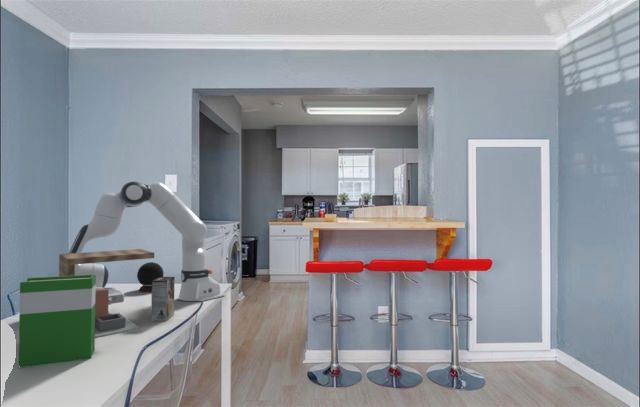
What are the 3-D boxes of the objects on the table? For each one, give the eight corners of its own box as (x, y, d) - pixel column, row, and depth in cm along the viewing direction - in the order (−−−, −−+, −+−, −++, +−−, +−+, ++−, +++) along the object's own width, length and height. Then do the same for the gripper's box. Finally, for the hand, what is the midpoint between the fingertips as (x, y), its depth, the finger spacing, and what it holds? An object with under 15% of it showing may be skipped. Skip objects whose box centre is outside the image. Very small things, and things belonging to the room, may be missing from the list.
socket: (126, 319, 154) (126, 309, 154) (139, 328, 143) (139, 318, 143) (80, 327, 143) (80, 316, 143) (90, 338, 132) (90, 326, 132)
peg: (104, 317, 156) (105, 288, 157) (107, 320, 153) (108, 290, 153) (92, 319, 153) (93, 289, 153) (95, 322, 150) (95, 291, 150)
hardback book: (18, 367, 108) (20, 282, 108) (26, 358, 115) (28, 277, 115) (90, 358, 115) (92, 278, 115) (94, 350, 122) (95, 274, 122)
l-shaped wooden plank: (139, 316, 158) (140, 249, 158) (153, 326, 146) (154, 252, 146) (57, 331, 139) (59, 254, 139) (66, 343, 127) (67, 258, 127)
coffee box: (159, 314, 162) (159, 276, 162) (174, 314, 162) (175, 276, 162) (150, 321, 152) (151, 280, 153) (167, 320, 153) (167, 280, 153)
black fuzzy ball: (132, 290, 207) (132, 262, 207) (155, 286, 217) (155, 260, 217) (144, 293, 199) (145, 265, 199) (168, 289, 209) (168, 262, 209)
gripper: (63, 293, 156) (70, 300, 146) (118, 286, 170) (128, 292, 160) (63, 309, 156) (70, 316, 146) (118, 301, 170) (128, 307, 159)
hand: (101, 303), depth 153 cm, fingers closed on peg, 4 cm apart
